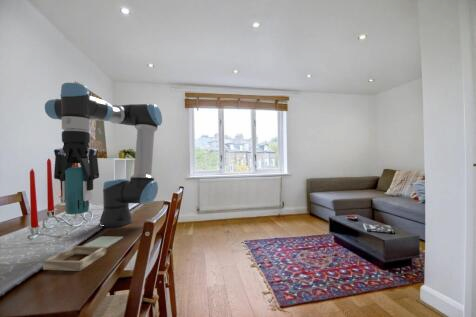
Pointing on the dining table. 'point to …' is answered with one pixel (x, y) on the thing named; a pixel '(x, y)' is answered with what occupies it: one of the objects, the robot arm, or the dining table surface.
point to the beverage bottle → (75, 189)
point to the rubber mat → (103, 241)
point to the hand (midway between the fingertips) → (77, 200)
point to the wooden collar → (59, 264)
